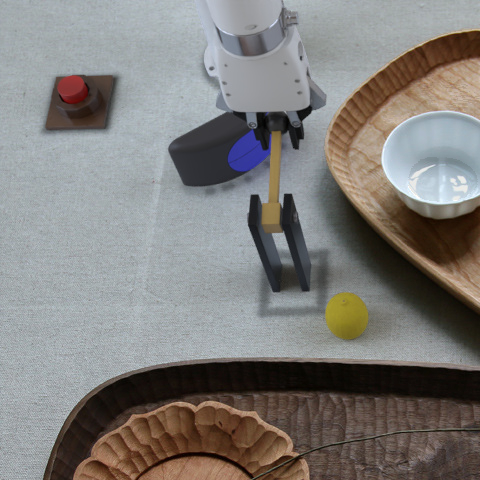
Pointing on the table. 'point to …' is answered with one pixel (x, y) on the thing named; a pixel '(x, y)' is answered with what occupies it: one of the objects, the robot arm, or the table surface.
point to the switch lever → (274, 172)
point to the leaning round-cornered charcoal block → (217, 151)
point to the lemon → (346, 315)
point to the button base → (81, 106)
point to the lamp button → (72, 89)
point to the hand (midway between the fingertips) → (281, 140)
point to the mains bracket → (268, 247)
